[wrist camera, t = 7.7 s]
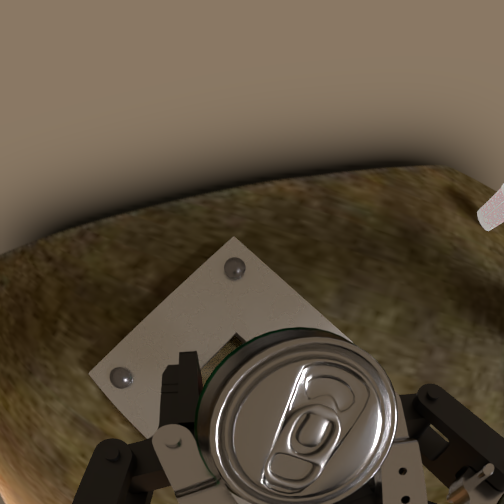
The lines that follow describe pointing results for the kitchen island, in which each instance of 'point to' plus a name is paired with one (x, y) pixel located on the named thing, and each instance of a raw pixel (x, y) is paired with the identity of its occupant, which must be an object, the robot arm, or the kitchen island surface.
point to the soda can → (296, 418)
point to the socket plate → (200, 329)
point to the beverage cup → (492, 211)
